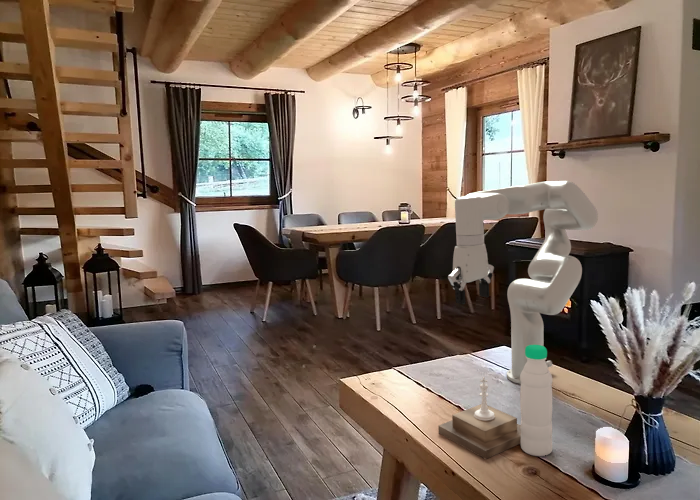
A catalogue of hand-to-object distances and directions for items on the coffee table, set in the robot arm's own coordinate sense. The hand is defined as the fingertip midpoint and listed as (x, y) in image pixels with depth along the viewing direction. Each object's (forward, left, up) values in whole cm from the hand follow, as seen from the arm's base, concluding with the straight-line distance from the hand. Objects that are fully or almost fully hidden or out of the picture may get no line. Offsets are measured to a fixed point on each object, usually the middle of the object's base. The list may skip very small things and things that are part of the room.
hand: (472, 299), depth 151 cm
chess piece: (+14, +18, -24) cm, 33 cm away
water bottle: (+10, +30, -29) cm, 43 cm away
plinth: (+14, +18, -29) cm, 37 cm away
